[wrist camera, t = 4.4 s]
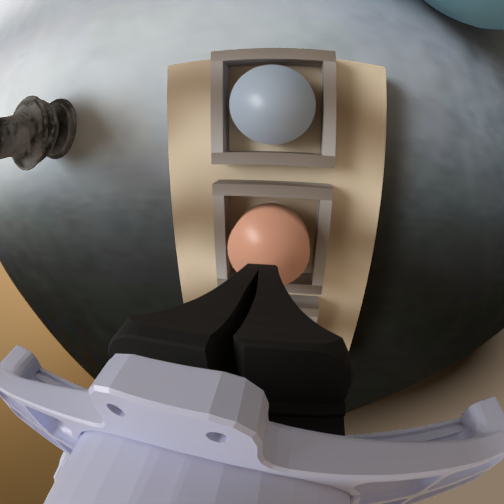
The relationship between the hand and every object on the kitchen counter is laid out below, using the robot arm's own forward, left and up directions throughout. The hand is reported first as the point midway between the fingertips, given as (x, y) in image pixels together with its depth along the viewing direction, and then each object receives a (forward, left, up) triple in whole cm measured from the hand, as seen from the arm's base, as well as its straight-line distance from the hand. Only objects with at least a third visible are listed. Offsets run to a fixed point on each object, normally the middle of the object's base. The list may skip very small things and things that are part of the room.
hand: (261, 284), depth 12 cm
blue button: (+8, 0, -4) cm, 9 cm away
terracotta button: (+1, 0, -3) cm, 3 cm away
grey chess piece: (+9, +18, -7) cm, 21 cm away
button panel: (+1, 0, -6) cm, 6 cm away
